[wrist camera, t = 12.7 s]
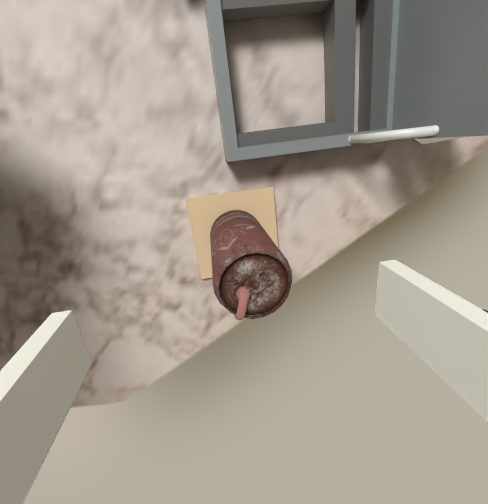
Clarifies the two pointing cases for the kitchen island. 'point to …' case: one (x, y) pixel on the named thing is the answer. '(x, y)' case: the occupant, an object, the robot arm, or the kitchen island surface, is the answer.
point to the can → (247, 266)
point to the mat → (213, 206)
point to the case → (372, 73)
